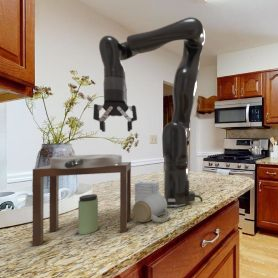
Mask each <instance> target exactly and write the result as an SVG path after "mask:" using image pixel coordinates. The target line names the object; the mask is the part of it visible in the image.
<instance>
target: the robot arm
mask: <svg viewBox="0 0 278 278" xmlns="http://www.w3.org/2000/svg"><path fill="white" fill-rule="evenodd" d="M182 40H183V48H182V56H181V60H180V62H179V63H178V65H177V67H176V70H175V73H174V78H173V84H172V103H173V113H172V114H173V115H172V119H171V122H168V123H167V124H166V125H164V127H163V129H162V135H161V136H162V137H161V144H162V155H163V159H164V164H163V168H164V173H163V174H164V175H163V177H164V179H163V181H164V182H163V183H164V184H163V187H164V188H163V189H164V191H163V192H164V193H163V196H164V198H165V199H166V201H167V208H180V207H183V206H188V205H190V202H195V201H196V198H197V199H198V198H199V199H200V202H201V203H202V202H203V201H204V200H203V197H202V196H200V195H198V194H196V192H195V191H194V190H190V180H189V154H188V150H187V148H188V147H187V142H188V141H189V139H190V136H191V121H192V120H191V119H192V111H193V107H194V103H195V98H196V93H197V89H198V88H197V87H198V80H199V73H200V72H199V71H200V60H201V56H202V52H203V49H204V46H205V40H206V33H205V29H204V25H203V22H202V21H201V20H200V19H198V18H197V17H193V16H190V17H189V16H188V17H186V18H183V19H180V20H177V21H175V22H173V23H172V22H171V23H170V24H167V25H165V26H162V27H159V28H156V29H152V30H150V31H149V30H147V31H144V32H143V31H142V32H138V33H133V34H130V35H128V36H126V41H124V42H120V41H119V40H118V39H117V38H116V37H115V36H113V35H104V36H102V37H101V38H100V40H99V43H98V50H99V54H100V58H101V62H102V65H103V104H97V103H95V104H93V113H92V114H93V116H92V119H93V120H95V121H97V122H98V123H99V130H100V131H101V132H103V133H106V120H107V119H109V117H110V116H111V117H123V118H125V120H127V122H126V123H127V132H129V133H130V132H131V131H132V130H133V122H136V121H138V116H137V115H138V114H137V106H136V105H135V104H133V105H128V97H127V96H128V95H127V94H128V93H127V91H128V90H127V89H128V88H127V83H126V69H125V66H124V65H123V64H122V61H127V60H129V59H131V58H133V57H135V56H137V55H140V54H145V53H149V52H154V51H156V50H158V49H160V48H162V47H164V46H165V45H168V44H169V43H172V42H174V41H175V42H176V41H182ZM102 109H103V110H104V111H105V112H104V113H103V114H102V115H101V117H100V112H101V111H102ZM128 110H130V112H131V114H132V117H130V116H129V115H128V113H126V112H128Z"/></svg>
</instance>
